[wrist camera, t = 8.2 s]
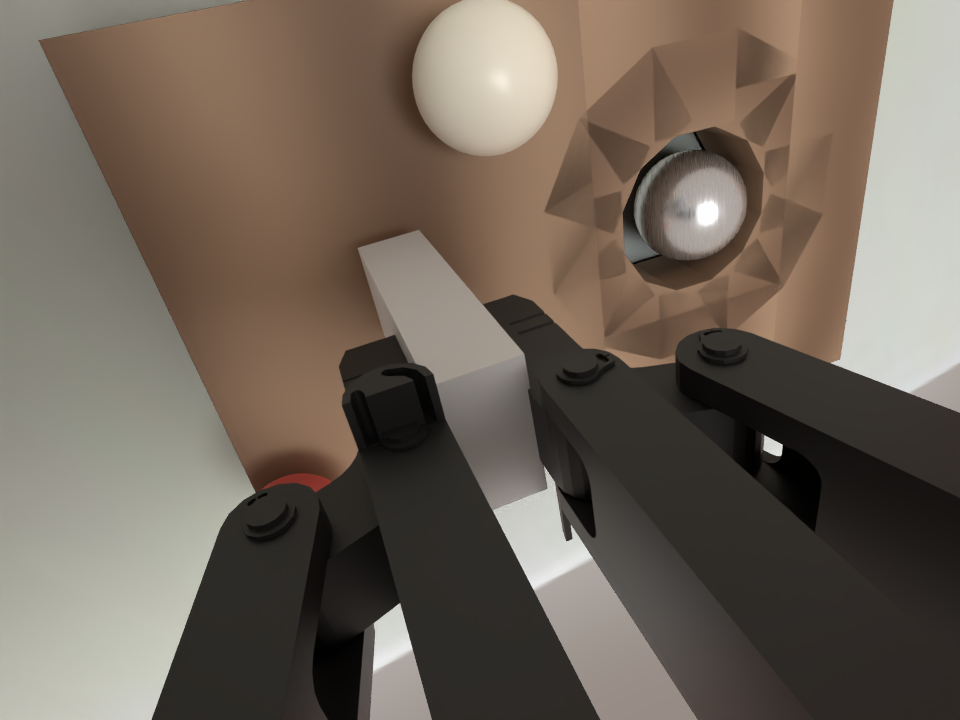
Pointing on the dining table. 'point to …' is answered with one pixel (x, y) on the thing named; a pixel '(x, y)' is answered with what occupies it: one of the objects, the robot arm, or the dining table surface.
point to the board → (468, 182)
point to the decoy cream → (484, 76)
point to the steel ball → (690, 205)
